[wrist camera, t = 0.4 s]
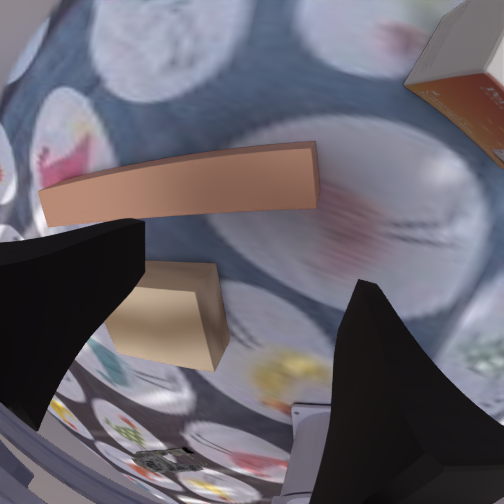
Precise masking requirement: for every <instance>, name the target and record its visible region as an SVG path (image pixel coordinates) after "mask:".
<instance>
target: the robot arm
mask: <svg viewBox="0 0 504 504" xmlns="http://www.w3.org/2000/svg"><path fill="white" fill-rule="evenodd" d="M144 273H145V221H141V220H137V219H134V218H124V219H117V220H112V221H108V222H104V223H99V224H95V225H91V226H88V227H84V228H80V229H76V230H71V231H67V232H63V233H59V234H55V235H50V236H45V237H40V238H35V239H28V240H22V241H13V242H2V243H0V434H2V435H3V436H4V437H5V438H6V439H7V440H8V441H9V442H10V443H12V444H13V445H14V446H15V447H16V448H17V449H19V450H20V451H21V452H22V453H24V454H25V455H26V456H27V457H28V458H30V459H31V460H32V461H33V462H35V463H36V464H38V465H39V466H40V467H41V468H43V469H44V470H46V471H47V472H48V473H49V474H51V475H52V476H54V477H55V478H57V479H58V480H59V481H61V482H62V483H64V484H65V485H67V486H68V487H70V488H72V489H73V490H74V491H76V492H78V493H79V494H81V495H82V496H84V497H86V498H87V499H89V500H91V501H93V502H94V503H96V504H160V503H158V502H155V501H153V500H151V499H149V498H146V497H144V496H142V495H140V494H138V493H136V492H134V491H132V490H129V489H128V488H125V487H124V486H122V485H120V484H118V483H116V482H114V481H112V480H110V479H108V478H106V477H105V476H103V475H101V474H99V473H98V472H96V471H94V470H93V469H91V468H89V467H87V466H86V465H84V464H83V463H81V462H79V461H78V460H76V459H74V458H73V457H71V456H70V455H68V454H67V453H65V452H64V451H62V450H61V449H59V448H58V447H56V446H55V445H54V444H52V443H51V442H49V441H48V440H47V439H45V438H44V437H42V436H41V435H40V434H38V433H37V432H36V431H38V430H39V428H40V425H41V422H42V420H43V418H44V415H45V413H46V411H47V408H48V406H49V404H50V402H51V400H52V398H53V396H54V394H55V392H56V390H57V388H58V386H59V384H60V382H61V381H62V379H63V377H64V375H65V374H66V372H67V370H68V369H69V367H70V366H71V364H72V362H73V361H74V359H75V358H76V356H77V355H78V353H79V352H80V350H81V349H82V348H83V346H84V345H85V343H86V342H87V341H88V339H89V338H90V337H91V336H92V334H93V333H94V332H95V331H96V330H97V329H98V328H99V327H100V326H101V324H102V323H103V322H104V321H105V320H106V319H107V318H108V317H109V316H110V315H111V314H112V313H113V312H114V311H115V309H116V308H117V307H118V306H119V305H120V304H121V303H122V302H123V301H124V300H125V299H126V298H127V297H128V295H129V294H130V293H131V292H132V291H133V289H134V288H135V287H136V285H137V284H138V282H139V281H140V279H141V278H142V276H143V275H144ZM291 413H292V424H293V436H294V443H293V447H292V451H291V455H290V459H289V464H288V468H287V472H286V475H285V479H284V483H283V487H282V491H281V494H280V496H274V497H273V500H272V504H493V503H495V502H496V501H498V500H499V499H501V498H503V497H504V426H503V425H501V424H500V423H498V422H497V421H496V420H494V419H493V418H492V417H490V416H489V415H488V414H487V413H485V412H484V411H483V410H482V409H480V408H479V407H478V406H477V405H476V404H474V403H473V402H472V401H471V400H470V399H469V398H468V397H467V396H465V395H464V394H463V393H462V392H461V391H460V390H459V389H458V388H457V387H456V386H455V385H454V384H453V383H452V382H451V381H450V380H449V379H448V378H447V377H446V376H445V375H444V374H443V373H442V372H441V370H440V369H439V368H438V367H437V366H436V365H435V364H434V362H433V361H432V360H431V359H430V358H429V357H428V356H427V354H426V353H425V352H424V351H423V349H422V348H421V347H420V345H419V344H418V343H417V341H416V340H415V339H414V337H413V336H412V335H411V333H410V332H409V331H408V329H407V328H406V326H405V325H404V323H403V322H402V320H401V319H400V317H399V316H398V315H397V313H396V311H395V310H394V308H393V307H392V305H391V304H390V302H389V301H388V299H387V298H386V296H385V295H384V293H383V292H382V290H381V289H380V288H379V286H378V285H377V284H375V283H371V282H368V281H364V280H360V279H358V281H357V284H356V286H355V289H354V291H353V294H352V297H351V299H350V302H349V304H348V307H347V309H346V312H345V314H344V317H343V319H342V321H341V324H340V326H339V328H338V334H337V340H336V345H335V352H334V362H333V381H332V398H331V406H321V405H303V404H294V405H292V408H291ZM33 478H34V474H33V473H32V472H31V471H30V470H29V469H28V468H27V467H26V466H25V465H24V464H22V463H21V462H20V461H19V460H18V459H17V458H16V457H15V456H14V455H13V454H12V452H10V450H9V449H8V448H7V447H6V446H5V445H4V443H3V442H2V441H1V440H0V504H47V503H46V502H45V501H43V500H42V499H41V498H39V497H38V496H37V495H35V494H34V493H33V492H31V491H30V490H29V489H28V485H29V483H30V482H31V480H32V479H33Z"/></svg>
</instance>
